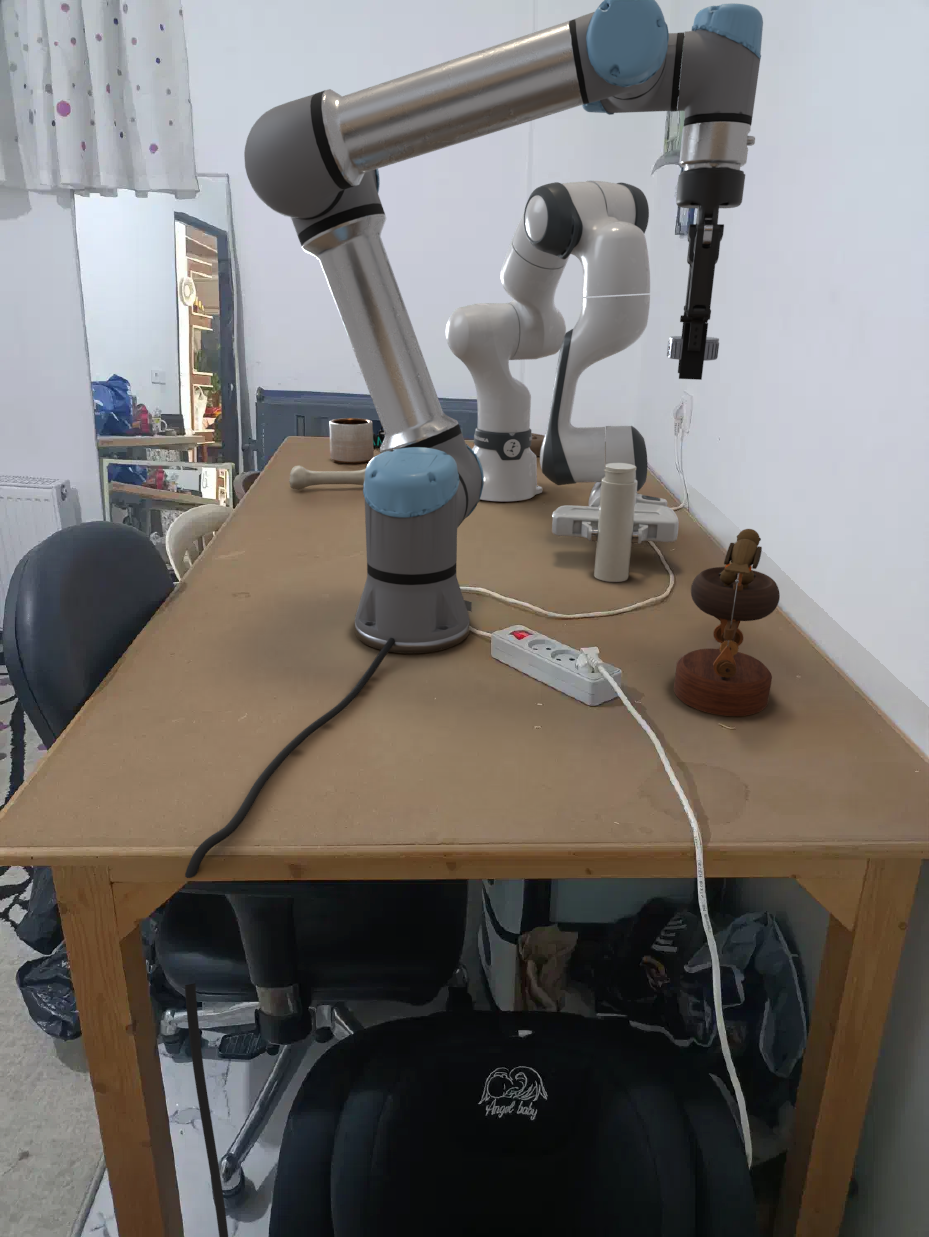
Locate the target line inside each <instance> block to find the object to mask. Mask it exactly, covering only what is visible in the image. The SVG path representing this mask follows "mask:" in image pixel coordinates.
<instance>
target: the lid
mask: <svg viewBox="0 0 929 1237" xmlns="http://www.w3.org/2000/svg"><path fill="white" fill-rule="evenodd" d="M682 343H683V336H682V335H673V336H669V338H668V342H667V349H666V357H667V358H668V359H671V360H678V361H679V360H681V353H682ZM719 350H720V338H718V337H714V336H713V337H712V336H707V338H706V346H705V355H704V362H705V361H707V362H708V361H715V360H716V361H717V359H718V356H719Z"/></svg>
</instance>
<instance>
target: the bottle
mask: <svg viewBox="0 0 929 1237" xmlns="http://www.w3.org/2000/svg"><path fill="white" fill-rule="evenodd" d="M636 469H637V467H636V466H634V465H632V464H627V463H609V464H606V465H605V470H604V471H605V477H604V478H602V480H601V492H600V505H599V518H598V535H597V541H596V544H595V558H594V570H593V571H594V572H593V576H594V578H595V579H597V580H599V581H603V582H607V583H621V582H625V581H627V580H628V579H629V575H630V567H631V566H630V565H631V555H632V554H631V553H632V545H633V543H632V533H633V524H634V513H635V503H636V492H637V493H638V491H637V480H635V472H636Z"/></svg>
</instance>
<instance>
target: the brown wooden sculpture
mask: <svg viewBox="0 0 929 1237" xmlns="http://www.w3.org/2000/svg"><path fill="white" fill-rule="evenodd" d="M761 541H762V538H761V537H760V535H759V532H757V531H756V530H755V529H753V528H745V529H742V530H741V531H740V532H738V534H736V542H730V543H729V545H728V548H727V550H726V553H725V556H724V561H723V564H724V565H725V566H716V567H709V568H705V569H704V570H702V571H701V572H699V573H698V574H697V575H696V576H695V578H694V579H693V581H692V584H691V587H690V595H691V599H692V601H693V603H694V604H695V606H696V607H697V608H699V610H700V611H702V612H703V613H704V614H707V615H709V616H712V617H713V618H715V619H717V620H718V621H719V622H720V624H717V625H716V626H715V627H714V629H713V638H714V640H715V641H716V642H717V643H720V645H719V648H700V649H696V650H692V651H690V652H688V653H686V654H684V655H683V656H681V657H679V659H678V660H677V661H676V666H675V667H676V668H675V673H674V674H675V676H674V684H673V691H674V694H675V696H676V697H677V698H678V699H679V700H680V701H681V702H682V703H684V704H685V705H687V706H689V707H691V708H693V709H695V710H699V711H701V712H704V713H708V714H713V715H717V716H726V717H744V716H749V715H754V714H757V713H760V712H762V711H763V710H765V709H766V707H767V706H768V704H769V697H770V693H771V687H772V680H773V674H772V672H771V670H770V669H769V668H768V667H767V666H766V665H765V664H764V662H762V661H761V660H760V659H757V658H756V657H754V656H752V655H750V654H746V653H744V652H740V651H739V650H740V649H739V647H740V646H741V644H743V642H744V634H743V632H742V631H741V629H740V628H739V627H740V624H741V622H752V621H753V622H754V621H759V620H762V619H764V618H766V617H768V616H769V615H771V614H772V613H773V612H774V611H775V610H776V609H777V607H778V605H779V602H780V596H781V592H780V589H779V587H778V584H777V583H776V582H775V580H774V579H773V578H772V577H771V576H769V575H767V574H765V573H763V572H760V571H757V570H756V569H757V568H758V566H759V564H760V560H761V557H762V550H763V547H762V546H761V545H760V542H761ZM759 545H760V546H759Z"/></svg>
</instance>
